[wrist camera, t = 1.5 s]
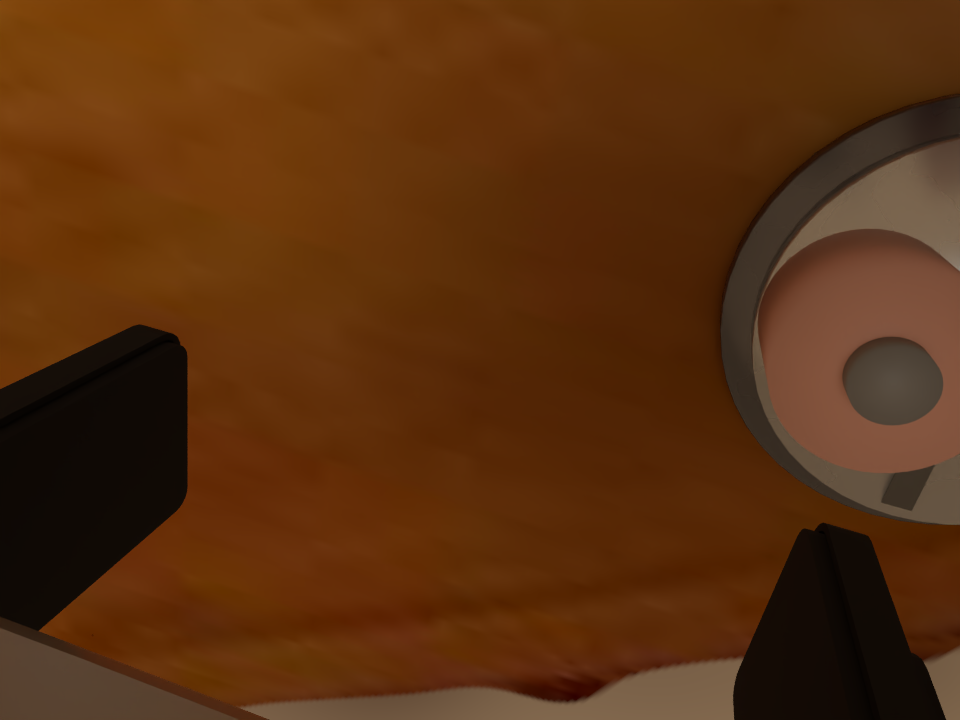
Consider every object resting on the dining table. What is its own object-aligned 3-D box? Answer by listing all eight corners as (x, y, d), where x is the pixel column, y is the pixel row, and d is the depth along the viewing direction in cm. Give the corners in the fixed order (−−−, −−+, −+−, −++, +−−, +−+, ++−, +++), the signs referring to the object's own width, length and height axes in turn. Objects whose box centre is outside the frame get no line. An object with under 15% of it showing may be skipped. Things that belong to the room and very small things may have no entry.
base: (1342, 143, 21) (1376, 148, 20) (1078, 555, 27) (1093, 576, 26) (798, 50, 24) (803, 50, 23) (673, 444, 30) (672, 458, 29)
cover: (999, 253, 22) (1080, 308, 17) (917, 425, 24) (968, 515, 20) (792, 209, 23) (815, 249, 18) (733, 379, 25) (741, 452, 21)
